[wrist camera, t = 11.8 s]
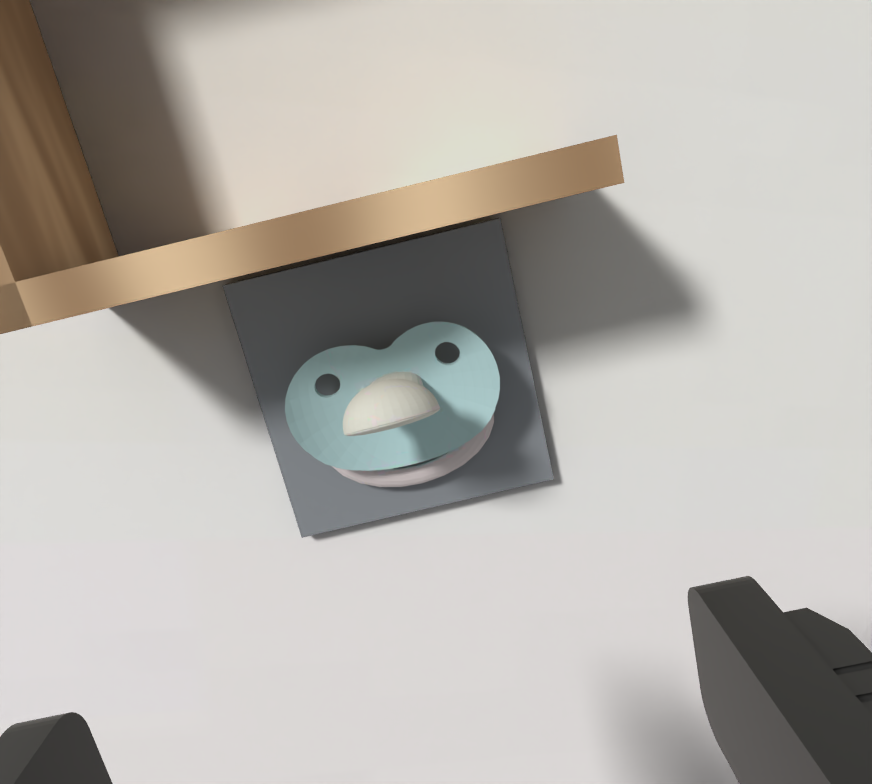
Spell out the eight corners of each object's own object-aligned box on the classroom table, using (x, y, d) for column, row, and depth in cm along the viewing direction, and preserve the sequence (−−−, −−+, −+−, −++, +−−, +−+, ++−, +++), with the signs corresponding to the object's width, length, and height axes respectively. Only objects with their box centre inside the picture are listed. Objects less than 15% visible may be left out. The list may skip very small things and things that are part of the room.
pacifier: (515, 451, 27) (477, 300, 26) (545, 529, 21) (499, 339, 20) (330, 499, 28) (280, 354, 26) (310, 590, 22) (243, 408, 20)
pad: (498, 218, 26) (500, 218, 25) (550, 473, 28) (553, 479, 28) (226, 284, 26) (222, 286, 25) (304, 530, 28) (301, 537, 28)
